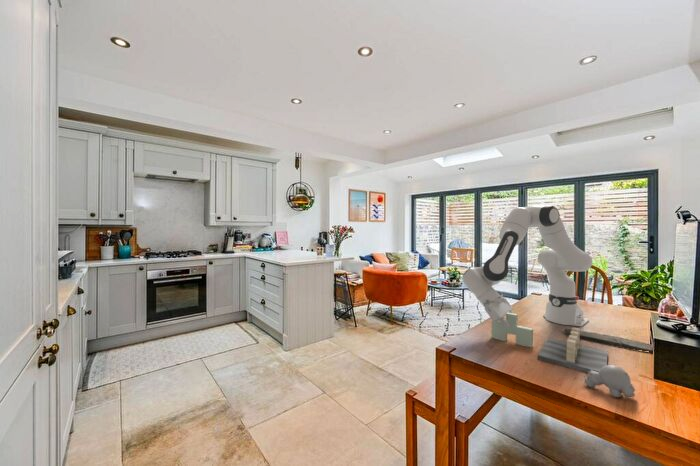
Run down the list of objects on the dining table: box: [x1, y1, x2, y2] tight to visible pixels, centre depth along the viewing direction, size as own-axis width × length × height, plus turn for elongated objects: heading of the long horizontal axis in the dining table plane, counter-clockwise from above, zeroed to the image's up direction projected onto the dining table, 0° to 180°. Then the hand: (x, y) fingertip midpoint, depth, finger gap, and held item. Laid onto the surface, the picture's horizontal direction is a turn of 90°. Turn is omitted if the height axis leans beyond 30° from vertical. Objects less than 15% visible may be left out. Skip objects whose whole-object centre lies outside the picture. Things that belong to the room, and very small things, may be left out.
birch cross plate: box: [537, 327, 609, 374], centre depth 115 cm, size 24×20×9 cm
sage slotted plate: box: [490, 312, 534, 349], centre depth 130 cm, size 16×2×12 cm, turn 48°
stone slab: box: [563, 328, 653, 352], centre depth 132 cm, size 10×3×30 cm
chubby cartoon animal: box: [581, 364, 636, 398], centre depth 91 cm, size 7×12×8 cm, turn 41°
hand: (512, 324), depth 130 cm, fingers open, 8 cm apart
